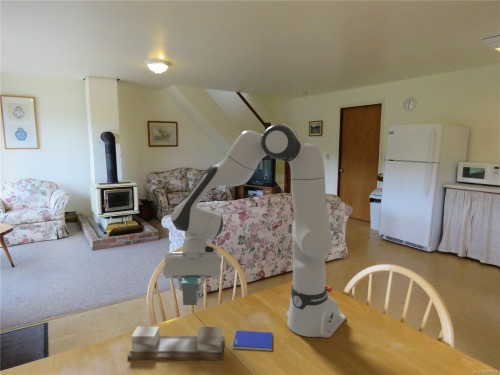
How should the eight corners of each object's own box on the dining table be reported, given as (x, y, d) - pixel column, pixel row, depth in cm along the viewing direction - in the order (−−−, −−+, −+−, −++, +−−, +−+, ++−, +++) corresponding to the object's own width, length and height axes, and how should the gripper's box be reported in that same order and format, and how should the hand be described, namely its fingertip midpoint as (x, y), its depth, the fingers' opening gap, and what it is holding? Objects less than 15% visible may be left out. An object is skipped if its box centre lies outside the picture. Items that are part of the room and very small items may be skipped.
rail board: (224, 338, 104) (223, 322, 103) (221, 359, 94) (220, 341, 93) (139, 338, 104) (138, 322, 103) (127, 359, 94) (126, 341, 93)
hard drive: (232, 345, 99) (271, 347, 98) (235, 329, 107) (272, 331, 106) (232, 349, 99) (271, 352, 98) (236, 333, 107) (272, 335, 106)
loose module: (199, 297, 111) (198, 276, 109) (196, 305, 106) (195, 282, 105) (186, 297, 111) (185, 276, 109) (183, 305, 106) (182, 282, 105)
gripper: (164, 248, 113) (157, 287, 104) (221, 248, 112) (219, 286, 104) (168, 256, 118) (162, 293, 110) (222, 255, 118) (220, 292, 109)
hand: (190, 290), depth 107 cm, fingers closed on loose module, 4 cm apart
